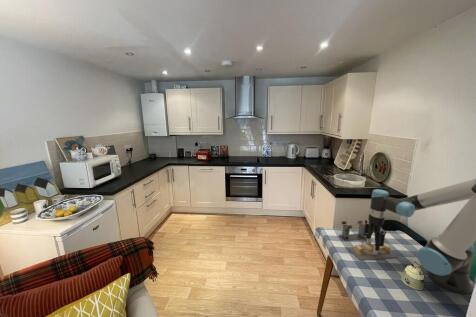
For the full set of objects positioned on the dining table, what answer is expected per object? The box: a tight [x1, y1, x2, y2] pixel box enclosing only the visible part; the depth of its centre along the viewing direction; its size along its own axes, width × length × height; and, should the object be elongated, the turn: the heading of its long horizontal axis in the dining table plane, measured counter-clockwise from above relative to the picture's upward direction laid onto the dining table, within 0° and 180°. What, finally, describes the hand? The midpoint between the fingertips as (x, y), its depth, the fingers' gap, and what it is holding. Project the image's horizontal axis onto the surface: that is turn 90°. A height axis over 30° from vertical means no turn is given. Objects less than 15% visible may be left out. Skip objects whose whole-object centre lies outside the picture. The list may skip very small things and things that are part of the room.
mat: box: [346, 246, 399, 261], centre depth 118 cm, size 24×11×1 cm, turn 96°
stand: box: [338, 220, 366, 242], centre depth 133 cm, size 17×6×11 cm, turn 96°
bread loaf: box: [354, 242, 391, 255], centre depth 118 cm, size 20×4×4 cm, turn 96°
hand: (371, 251), depth 118 cm, fingers open, 5 cm apart
